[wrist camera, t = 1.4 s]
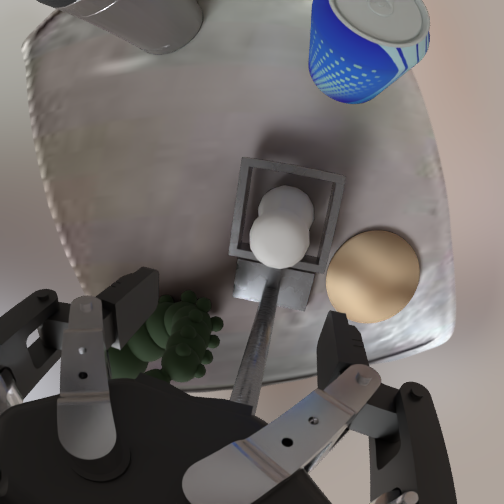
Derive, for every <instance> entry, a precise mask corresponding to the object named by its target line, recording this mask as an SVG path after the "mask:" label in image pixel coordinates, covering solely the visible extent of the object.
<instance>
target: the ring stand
mask: <svg viewBox="0 0 504 504" xmlns="http://www.w3.org/2000/svg"><path fill="white" fill-rule="evenodd" d="M253 167H256V168H262V169H268V170H274V171H280V172H286V173H291V174H297V175H302V176H307V177H312V178H317V179H322V180H326V181H331V182H333V186H332V191H331V196H330V201H329V206H328V211H327V216H326V220H325V225H324V229H323V234H322V238H321V243H320V247H319V251H318V256H317V257H314V256H309V255H304V257H303V258H302V259H301V260H300V261H299V262H297V263H296V264H295V265H294V266H292V267H287V268H283V269H277V268H272V267H267V266H266V265H264V264H263V263H262V262H260V261H259V260H257V258H256V257H255V255H254V253H253V252H252V250H251V248H250V244H248V243H243V242H242V237H243V230H244V223H245V216H246V209H247V203H248V196H249V189H250V182H251V176H252V169H253ZM345 179H346V176H344V175H340V174H335V173H331V172H326V171H322V170H317V169H312V168H307V167H302V166H296V165H291V164H285V163H279V162H274V161H267V160H261V159H255V158H248V157H242V160H241V167H240V174H239V181H238V188H237V195H236V202H235V209H234V216H233V224H232V231H231V239H230V247H229V255H232V256H236V257H239V258H238V261H237V268H236V276H235V283H234V290H233V297H237V298H241V299H246V300H251V301H255V302H260V303H259V306H258V309H257V313H256V316H255V319H254V323H253V326H252V329H251V333H250V336H249V339H248V343H247V346H246V349H245V352H244V356H243V359H242V362H241V365H240V368H239V372H238V375H237V378H236V381H235V384H234V388H233V391H232V394H231V397H230V401H234V402H238V403H242V404H246V405H251V406H253V409H252V415H254V416H255V413H256V408H257V403H258V399H259V394H260V389H261V384H262V379H263V375H264V370H265V365H266V360H267V355H268V349H269V344H270V339H271V334H272V328H273V323H274V318H275V312H276V307H277V306H280V307H285V308H290V309H295V310H301V311H305V309H306V305H307V302H308V298H309V294H310V290H311V287H312V283H313V279H314V275H315V273H314V272H317V273H322V274H324V272H325V268H326V265H327V261H328V257H329V253H330V248H331V244H332V240H333V236H334V232H335V227H336V223H337V218H338V214H339V209H340V204H341V200H342V195H343V190H344V185H345Z"/></svg>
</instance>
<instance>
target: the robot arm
mask: <svg viewBox="0 0 504 504" xmlns="http://www.w3.org/2000/svg"><path fill="white" fill-rule="evenodd" d="M37 1H38V2H40V3H43V4H45V5H48V6H51V7H53V8H56V9H58V10H61V11H63V12H66V13H68V14H71V15H73V16H76V17H78V18H80V19H83V20H85V21H87V22H89V23H91V24H94V25H96V26H98V27H100V28H102V29H104V30H106V31H108V32H110V33H112V34H114V35H116V36H118V37H120V38H122V39H124V40H126V41H128V42H129V43H131V44H133V45H135V46H137V47H139V48H140V49H142V50H144V51H146V52H148V53H151V54H155V55H162V54H167V53H170V52H173V51H176V50H178V49H179V48H181V47H183V46H184V45H186V44H187V43H188V42H189V41H190V40H191V39H192V38H193V37H194V36H195V35H196V34H197V32H198V31H199V29H200V26H201V24H202V20H203V13H202V10H201V8H200V7H199V5H198V4H197V0H37ZM158 299H159V272H158V271H157V270H155V269H151V268H147V267H141V268H140V269H139V270H137V271H136V272H135V273H133V274H132V273H131V274H128V275H125V276H123V277H121V278H120V279H118V280H117V281H116V282H114V283H113V284H112V285H111V286H109V287H108V288H106V289H105V290H104V291H103V292H101V293H100V294H99V295H97V296H96V297H94V296H81V297H78V298H76V299H74V300H73V301H72V302H71V304H68V303H62V302H58V297H57V294H56V292H55V291H53V290H50V289H42V290H38V291H36V292H34V293H32V294H31V295H30V296H28V297H27V298H26V299H24V300H23V301H22V302H20V303H19V304H17V305H16V306H14V307H13V308H12V309H10V310H9V311H8V312H7V313H5V314H4V315H3V316H1V317H0V504H332V503H331V502H330V501H329V500H328V498H327V497H326V496H325V495H324V493H323V492H322V491H321V490H320V489H319V487H318V486H317V485H316V483H315V482H314V481H313V480H312V478H311V477H310V476H309V473H310V472H311V471H312V470H313V469H314V468H315V467H316V466H317V465H318V464H319V462H320V461H321V460H322V459H323V458H324V457H325V456H326V455H327V454H328V453H329V452H330V451H331V450H332V449H333V448H334V447H335V446H336V445H337V444H338V443H339V442H340V441H341V440H342V439H343V437H344V436H345V435H346V434H347V433H348V432H349V431H350V430H353V431H356V432H359V433H361V434H364V435H367V436H369V451H370V480H371V481H370V484H371V485H370V486H371V487H370V501H371V502H370V503H369V504H457V499H456V493H455V488H454V482H453V477H452V472H451V467H450V463H449V458H448V454H447V450H446V446H445V442H444V438H443V434H442V431H441V427H440V424H439V420H438V417H437V414H436V410H435V407H434V404H433V401H432V398H431V395H430V393H429V391H428V390H427V389H426V388H425V387H424V386H423V385H420V384H418V383H416V382H406V383H404V384H403V385H402V386H401V388H400V389H396V388H393V387H390V386H387V385H384V384H382V383H381V377H380V375H379V374H378V372H376V371H375V370H374V369H373V368H371V367H369V363H368V360H367V356H366V352H365V348H364V344H363V342H362V337H361V333H360V332H359V331H358V330H357V328H356V327H355V326H352V325H349V324H348V320H347V316H346V313H341V312H336V311H331V310H330V311H329V312H328V315H327V317H326V320H325V323H324V326H323V329H322V332H321V334H320V337H319V340H318V345H317V378H318V388H317V389H315V390H314V391H313V392H311V393H310V394H309V395H308V396H307V397H305V398H304V399H302V400H301V401H300V402H299V403H297V404H296V405H295V406H293V407H292V408H291V409H289V410H288V411H286V412H285V413H284V414H282V415H281V416H280V417H278V418H277V419H275V420H274V421H273V422H271V423H270V424H268V423H266V422H265V421H264V420H262V419H260V418H258V417H256V416H254V415H252V409H253V406H251V405H246V404H242V403H238V402H234V401H230V400H225V399H216V398H204V397H194V396H190V395H188V394H187V393H185V392H183V391H181V390H180V389H178V388H176V387H174V386H173V385H171V384H169V383H168V382H166V381H163V380H160V379H157V378H155V377H152V376H149V375H147V374H144V373H141V372H140V373H139V375H138V376H137V378H136V379H130V378H117V379H112V372H111V365H110V358H109V351H108V349H109V348H110V347H111V346H112V347H114V348H117V349H119V350H121V349H122V348H123V346H124V345H125V344H126V343H127V342H128V341H129V340H130V338H131V337H132V336H133V335H134V334H135V333H136V332H137V330H138V329H139V328H140V327H141V326H142V325H143V324H144V323H145V321H146V320H147V319H148V318H149V317H150V316H151V315H152V314H153V312H154V311H155V310H156V308H157V305H158ZM36 329H38V333H39V336H40V337H39V338H38V339H37V340H36V341H35V342H34V343H33V344H32V345H31V346H30V347H28V348H27V345H26V341H27V338H28V336H29V335H30V334H31V333H32V332H33V331H34V330H36ZM60 357H61V371H60V373H61V374H60V394H58V395H54V396H50V397H46V398H42V399H38V400H34V401H30V402H25V403H23V399H24V398H25V397H26V396H27V395H28V393H29V392H30V391H31V390H32V389H33V388H34V387H35V385H36V384H37V383H38V382H39V380H41V378H42V377H43V376H44V375H45V374H46V373H47V372H48V371H49V369H50V368H51V367H52V366H53V365H54V364H55V363H56V362H57V361H58V360H59V359H60Z"/></svg>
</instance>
